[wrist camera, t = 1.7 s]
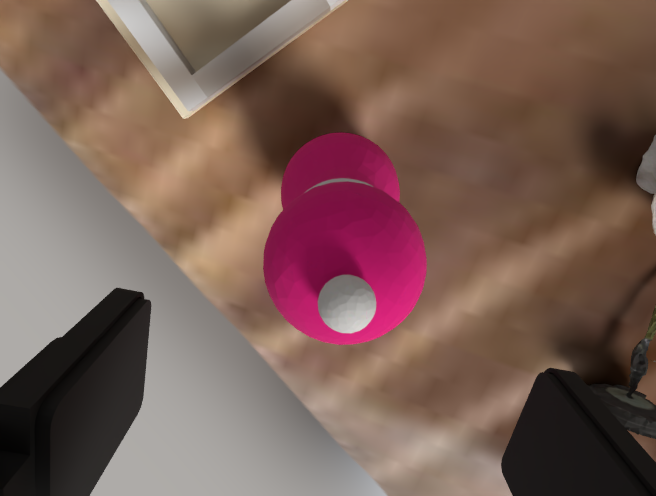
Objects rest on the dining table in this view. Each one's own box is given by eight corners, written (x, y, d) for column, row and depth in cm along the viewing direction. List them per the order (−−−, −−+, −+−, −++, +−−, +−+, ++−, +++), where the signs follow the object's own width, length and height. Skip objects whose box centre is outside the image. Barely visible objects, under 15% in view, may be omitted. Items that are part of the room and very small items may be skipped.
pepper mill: (266, 176, 32) (168, 311, 13) (342, 103, 30) (358, 133, 11) (336, 247, 33) (339, 457, 14) (411, 182, 32) (526, 324, 13)
